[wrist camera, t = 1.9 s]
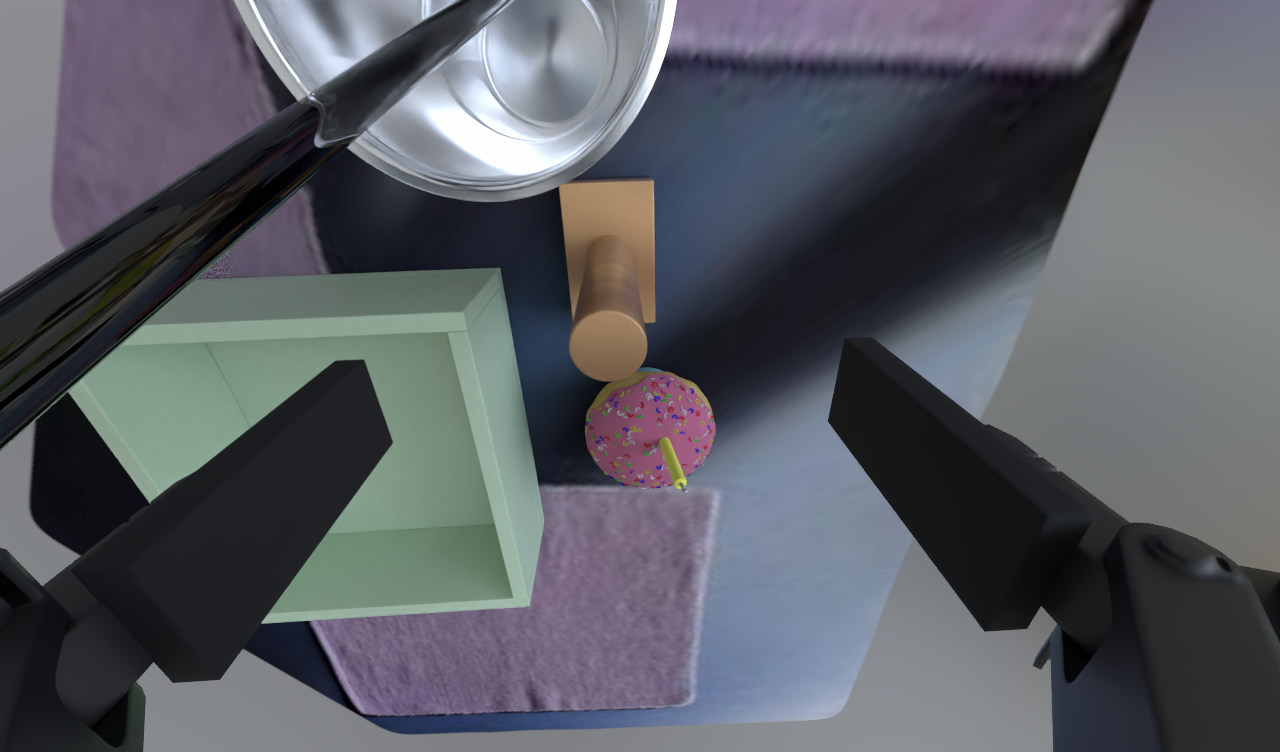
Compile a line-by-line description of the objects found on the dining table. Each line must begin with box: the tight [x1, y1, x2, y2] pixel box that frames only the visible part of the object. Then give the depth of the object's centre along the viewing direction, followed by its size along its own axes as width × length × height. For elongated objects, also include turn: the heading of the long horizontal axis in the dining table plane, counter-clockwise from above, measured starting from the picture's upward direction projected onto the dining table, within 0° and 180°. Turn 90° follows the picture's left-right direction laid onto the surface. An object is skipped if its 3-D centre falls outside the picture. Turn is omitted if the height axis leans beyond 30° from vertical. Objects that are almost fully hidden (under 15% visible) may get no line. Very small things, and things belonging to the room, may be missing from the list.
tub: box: [68, 268, 545, 623], centre depth 30 cm, size 22×20×8 cm
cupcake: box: [585, 367, 716, 493], centre depth 28 cm, size 9×8×12 cm
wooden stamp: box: [559, 176, 655, 381], centre depth 21 cm, size 8×5×15 cm, turn 1°
